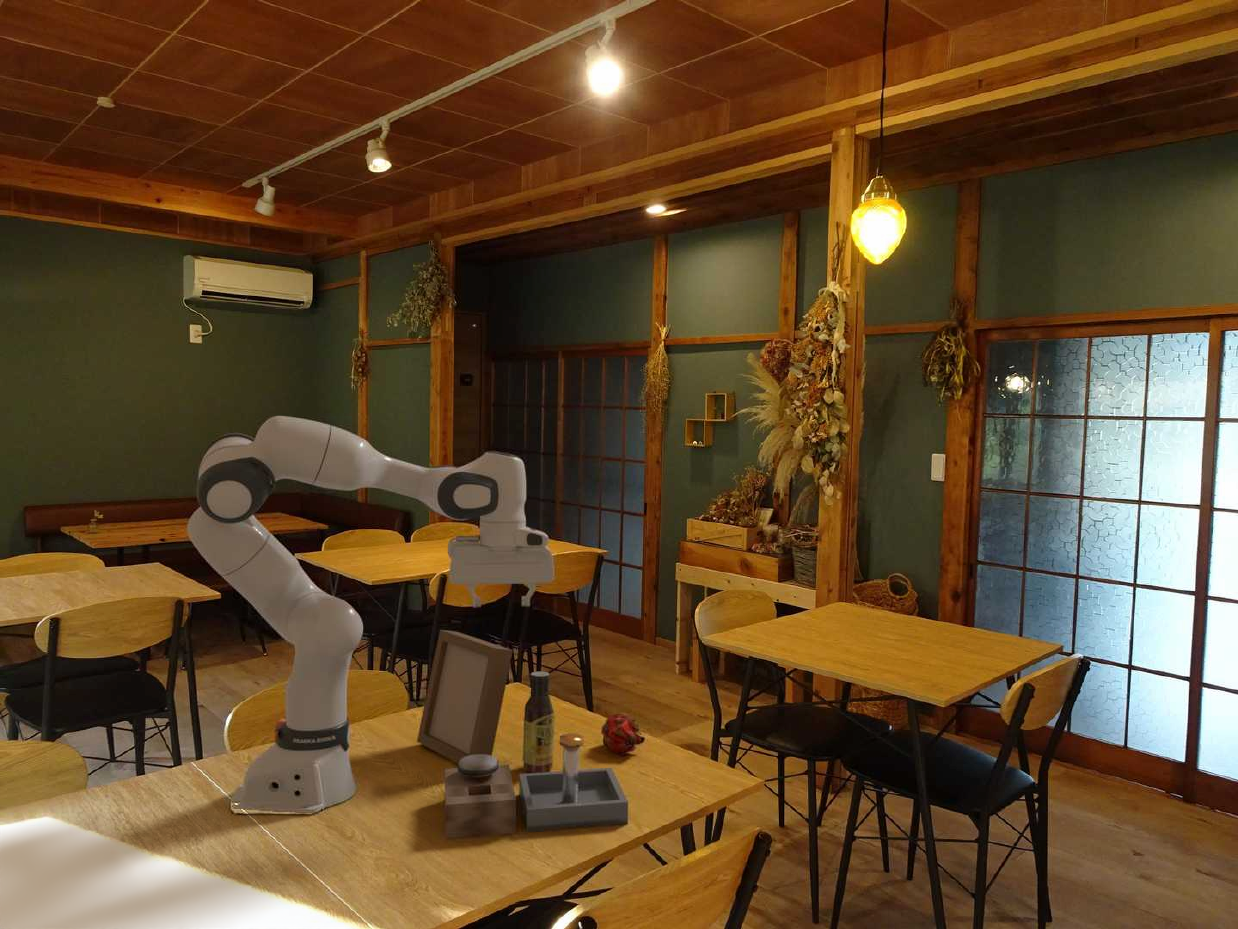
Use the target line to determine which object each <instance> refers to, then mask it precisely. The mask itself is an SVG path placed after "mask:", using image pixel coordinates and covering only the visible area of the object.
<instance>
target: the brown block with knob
mask: <svg viewBox="0 0 1238 929" xmlns="http://www.w3.org/2000/svg"><path fill="white" fill-rule="evenodd" d="M456 766H457V767H453V768H445V769H444V788H445V789H444V793H445V794H444V801H445V802H444V803H445V804H444V805H445V807H444V808H445V809H444V810H445V839H446V840H447V839H448V840H449V839H458V838H460V839H461V838H472V837H483V836H485V837H486V836H497V835H498V836H499V835H507V834H508V835H509V834H517V833H516V832H517V830H516V829H517V824H516V823H517V820H516V819H517V815H516V814H517V811H516V810H517V800H516V793H515V788H514V783H513V778H512V773H511V768H510V765H509V764H500V762H499V759H497V757H496V756H494V755H492V756H491V755H486V754H475V755H469V756H466V757H464V758H462V759H461V760H460V761H459V762H458V763H456Z"/></svg>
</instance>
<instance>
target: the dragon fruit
mask: <svg viewBox="0 0 1238 929" xmlns="http://www.w3.org/2000/svg"><path fill="white" fill-rule="evenodd" d="M635 722H636V719H635V718H634V717H633V716H628V715H627V714H626V713H624V712H618V713H613V714H611V715H610V716H609V717H608V718H607V719H606V720H605V723H604V724H603V725H602V726H601V732H600V733H601V735H602V736H603V737H602V743H603V744H602V745H603V747H604V748H605V749H608V748H610V750H612V752H613V753H614V754H615V755H617V754H619V755H618V756H625V755H626V754H623V753H625V751H627V752H634V751H635V750H637V745H638V746H639V745H642V744H643V743H644V742H645V740H646V737H645V736H641V735H642V733H641V731H640V728H639V726H638V724H636V723H635Z"/></svg>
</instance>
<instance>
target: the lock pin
mask: <svg viewBox="0 0 1238 929" xmlns="http://www.w3.org/2000/svg"><path fill="white" fill-rule="evenodd" d="M559 746H561V747H562V748H563V749H562V750H563V751H562V771H563V773H562V804H570V803H578V779H579V770H580V769H579V768H580V747H582V746H584V736H583V735H582V734H579V733H564V734H561V735H560V736H559Z"/></svg>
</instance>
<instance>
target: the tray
mask: <svg viewBox="0 0 1238 929" xmlns="http://www.w3.org/2000/svg"><path fill="white" fill-rule="evenodd" d="M562 773H563V770H560V771H548V772H542V773H530V772H527V773H519V774H518V775H519V776H518V780H519V781H518V783H519V784H518V785H519V786H518V787H519V788H518V789H519V791H518V793H519V799H520V803H521V808H522V813H523V819H524V823H525V824H524V825H525V827H526V832H527V833H529V832H530V833H534V832H545V831H547V832H548V831H554V830H555V831H557V830H571V829H580V828H582V829H583V828H592V827H607V826H617V825H628V824H629V801H628V799H627V797H626V795H625V793H624V791H623V789H622V787H621V784H620V782H619V781H618V778H617V777H616V774H615V772H614V770H613V768H612V767H605V768H604V767H601V768H588V769H579V779H578V803H570V804H562Z"/></svg>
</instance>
